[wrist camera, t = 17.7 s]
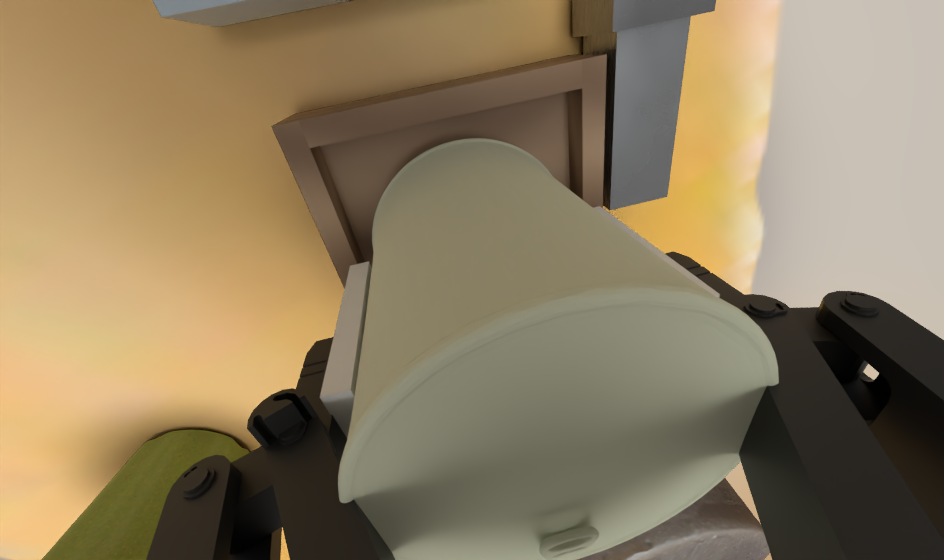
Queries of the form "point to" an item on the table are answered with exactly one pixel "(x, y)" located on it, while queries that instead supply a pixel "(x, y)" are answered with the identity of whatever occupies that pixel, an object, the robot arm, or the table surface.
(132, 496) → the plant pot
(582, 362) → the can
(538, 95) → the tray
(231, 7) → the socket block
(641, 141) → the grey t-shaped block
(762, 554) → the pillar candle
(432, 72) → the table surface
